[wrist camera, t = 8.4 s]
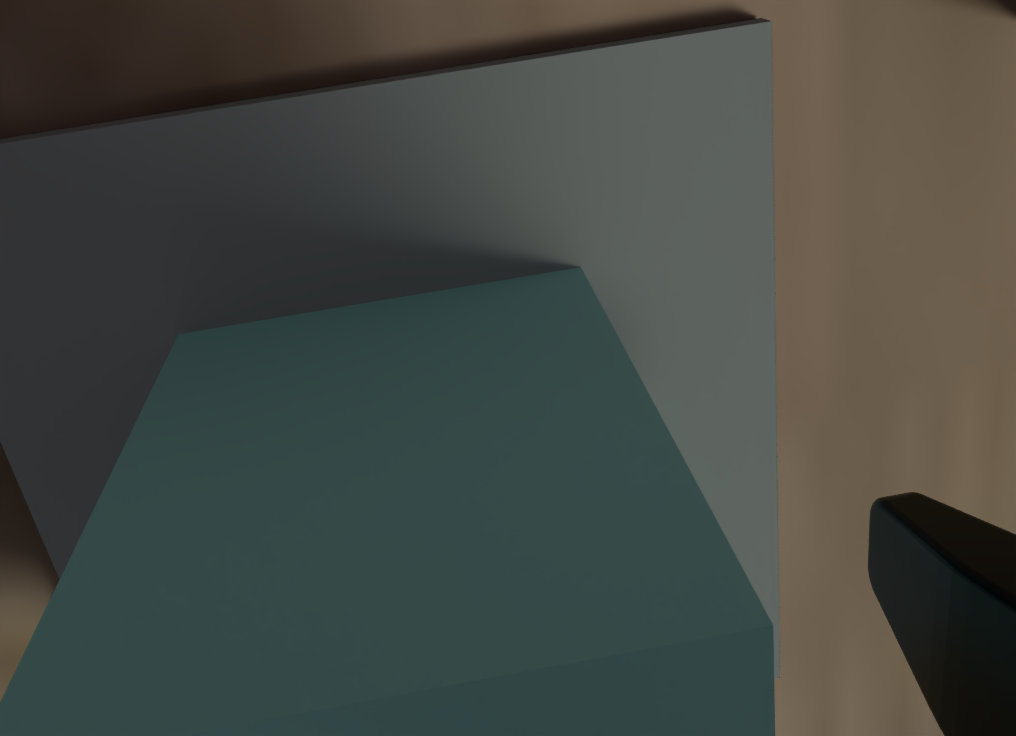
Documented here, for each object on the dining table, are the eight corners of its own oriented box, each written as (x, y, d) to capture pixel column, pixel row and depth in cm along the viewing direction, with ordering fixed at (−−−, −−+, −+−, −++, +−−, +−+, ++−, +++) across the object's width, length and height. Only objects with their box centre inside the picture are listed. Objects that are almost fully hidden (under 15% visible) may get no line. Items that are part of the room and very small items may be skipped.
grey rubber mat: (772, 662, 14) (780, 677, 14) (156, 778, 14) (152, 796, 13) (761, 17, 10) (771, 21, 10) (-106, 156, 10) (-119, 162, 10)
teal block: (614, 584, 13) (780, 1076, 7) (276, 645, 13) (193, 1196, 7) (581, 266, 11) (773, 624, 5) (179, 334, 11) (-35, 776, 5)
